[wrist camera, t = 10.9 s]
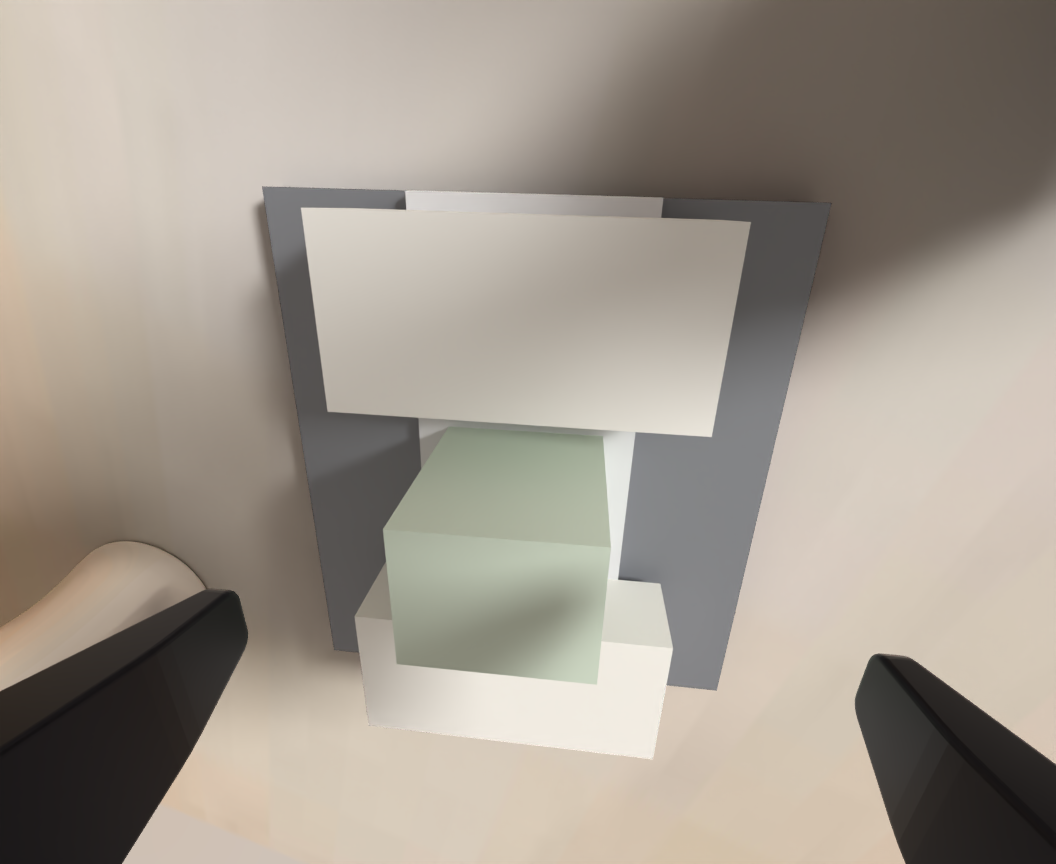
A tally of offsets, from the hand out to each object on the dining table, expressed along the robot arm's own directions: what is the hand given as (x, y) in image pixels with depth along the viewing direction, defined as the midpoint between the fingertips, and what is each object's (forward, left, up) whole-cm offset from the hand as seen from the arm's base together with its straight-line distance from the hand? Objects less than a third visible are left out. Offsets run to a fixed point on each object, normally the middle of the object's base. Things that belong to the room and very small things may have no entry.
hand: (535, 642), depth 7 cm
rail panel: (+1, +3, -11) cm, 12 cm away
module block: (+1, +3, -10) cm, 10 cm away
